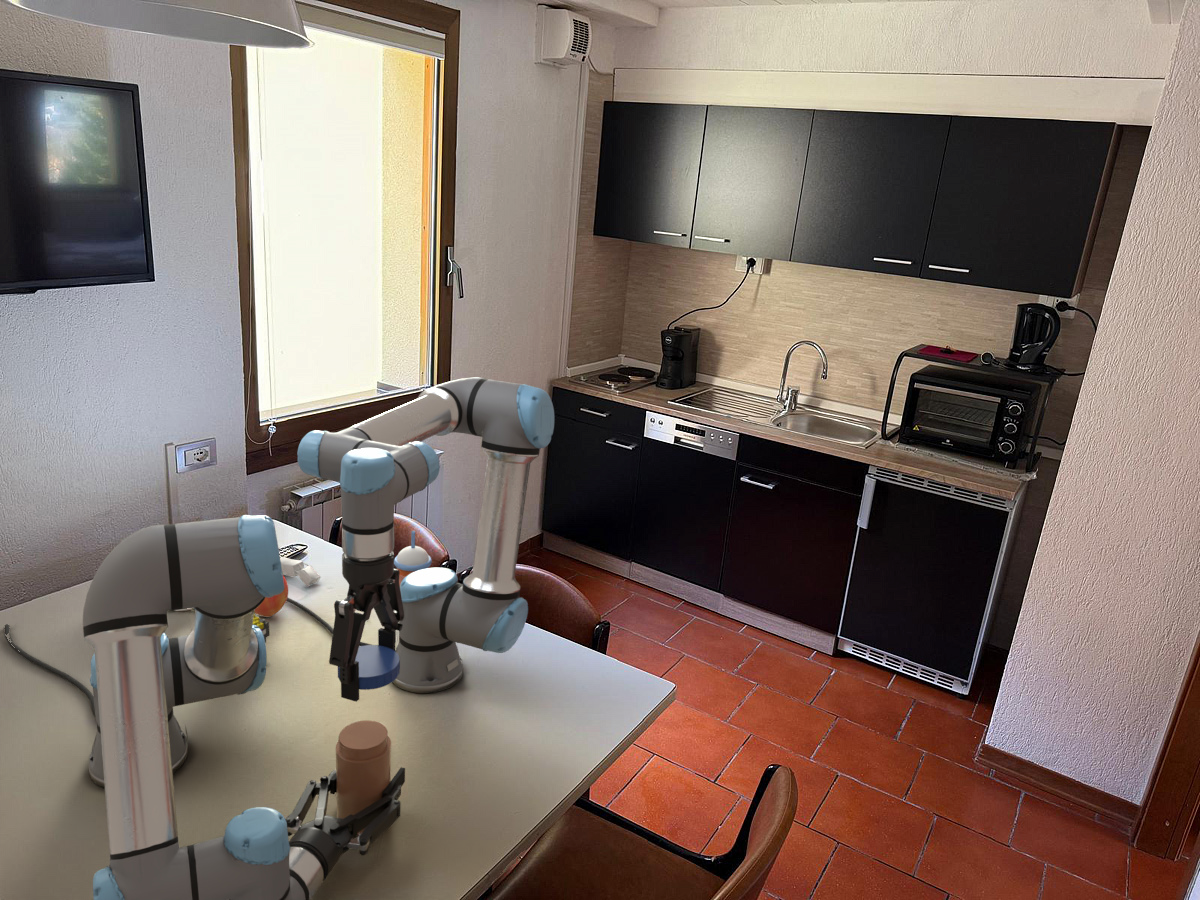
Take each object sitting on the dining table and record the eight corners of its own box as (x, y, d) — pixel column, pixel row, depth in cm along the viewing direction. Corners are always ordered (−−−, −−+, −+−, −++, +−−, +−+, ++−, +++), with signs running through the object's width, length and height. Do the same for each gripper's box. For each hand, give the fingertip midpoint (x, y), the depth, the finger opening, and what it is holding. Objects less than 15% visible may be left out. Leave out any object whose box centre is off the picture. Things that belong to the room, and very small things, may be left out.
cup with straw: (422, 608, 209) (423, 541, 204) (387, 602, 210) (387, 535, 205) (436, 592, 217) (437, 527, 212) (403, 587, 219) (403, 522, 214)
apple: (273, 600, 207) (272, 562, 204) (297, 613, 202) (296, 575, 199) (237, 614, 200) (234, 575, 197) (261, 628, 194) (259, 588, 191)
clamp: (253, 565, 223) (254, 542, 221) (265, 560, 226) (266, 537, 224) (309, 593, 215) (310, 569, 213) (320, 588, 218) (321, 564, 216)
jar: (325, 819, 140) (323, 736, 135) (366, 791, 147) (366, 711, 142) (361, 843, 135) (360, 758, 131) (401, 813, 142) (402, 732, 138)
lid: (407, 682, 133) (407, 669, 132) (345, 695, 128) (345, 682, 127) (390, 652, 140) (390, 640, 140) (331, 664, 136) (331, 651, 135)
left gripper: (237, 869, 126) (320, 773, 147) (370, 905, 121) (436, 801, 143) (235, 827, 124) (319, 736, 145) (370, 862, 119) (436, 763, 140)
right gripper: (387, 521, 139) (387, 643, 146) (299, 575, 119) (304, 713, 126) (428, 530, 137) (426, 654, 143) (345, 586, 117) (347, 726, 124)
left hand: (377, 768), depth 144 cm, fingers closed on jar, 9 cm apart
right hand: (369, 681), depth 135 cm, fingers closed on lid, 9 cm apart
